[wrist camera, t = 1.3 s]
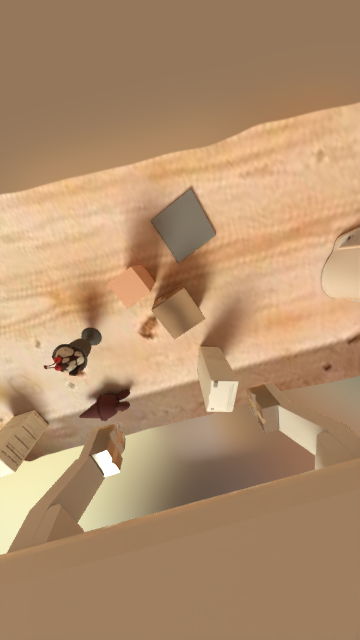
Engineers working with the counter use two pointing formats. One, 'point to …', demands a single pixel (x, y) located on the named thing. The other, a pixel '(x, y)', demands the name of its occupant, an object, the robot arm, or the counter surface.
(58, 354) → the sundae
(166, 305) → the lettered block
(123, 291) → the terracotta pillar
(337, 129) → the counter surface
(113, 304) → the counter surface
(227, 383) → the skincare box
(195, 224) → the grey mat
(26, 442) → the supplement box
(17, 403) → the counter surface
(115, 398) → the icecream
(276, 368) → the counter surface
